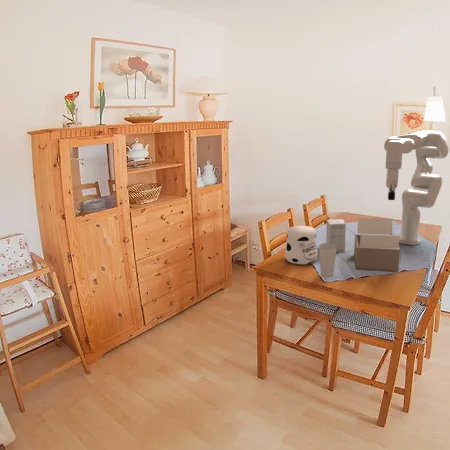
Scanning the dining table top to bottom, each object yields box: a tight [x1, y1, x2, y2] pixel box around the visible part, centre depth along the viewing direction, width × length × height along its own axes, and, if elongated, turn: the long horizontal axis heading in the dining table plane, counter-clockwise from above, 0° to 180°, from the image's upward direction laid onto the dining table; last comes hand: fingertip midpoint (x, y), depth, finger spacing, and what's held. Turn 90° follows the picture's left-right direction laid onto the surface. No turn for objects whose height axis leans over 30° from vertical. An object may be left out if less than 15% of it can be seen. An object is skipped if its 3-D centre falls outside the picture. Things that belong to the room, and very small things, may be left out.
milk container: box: [284, 225, 319, 266], centre depth 209 cm, size 17×17×18 cm
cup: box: [318, 242, 337, 279], centre depth 191 cm, size 8×8×16 cm
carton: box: [353, 234, 401, 273], centre depth 203 cm, size 20×20×12 cm
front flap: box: [360, 234, 400, 249], centre depth 188 cm, size 8×18×1 cm
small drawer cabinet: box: [326, 218, 347, 253], centre depth 224 cm, size 10×9×17 cm
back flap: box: [356, 217, 393, 235], centre depth 210 cm, size 8×18×1 cm
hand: (391, 199), depth 205 cm, fingers closed
